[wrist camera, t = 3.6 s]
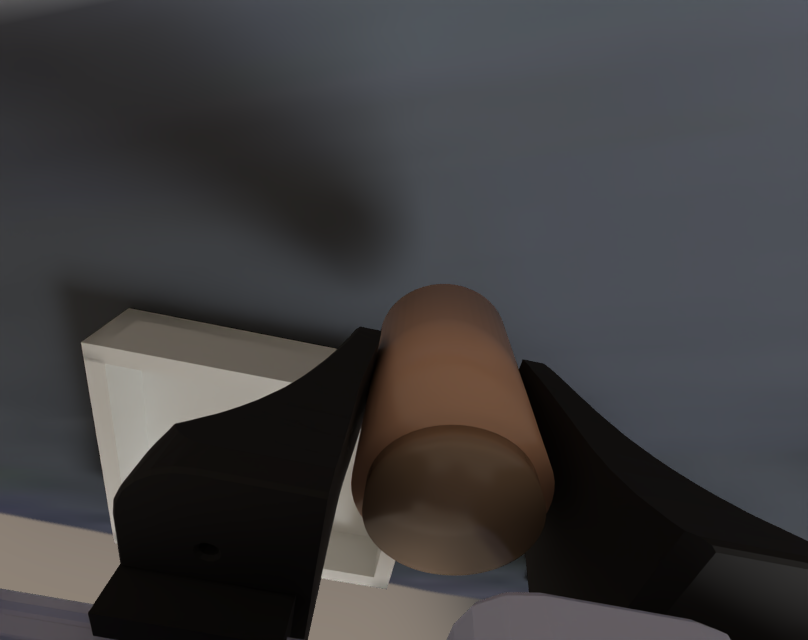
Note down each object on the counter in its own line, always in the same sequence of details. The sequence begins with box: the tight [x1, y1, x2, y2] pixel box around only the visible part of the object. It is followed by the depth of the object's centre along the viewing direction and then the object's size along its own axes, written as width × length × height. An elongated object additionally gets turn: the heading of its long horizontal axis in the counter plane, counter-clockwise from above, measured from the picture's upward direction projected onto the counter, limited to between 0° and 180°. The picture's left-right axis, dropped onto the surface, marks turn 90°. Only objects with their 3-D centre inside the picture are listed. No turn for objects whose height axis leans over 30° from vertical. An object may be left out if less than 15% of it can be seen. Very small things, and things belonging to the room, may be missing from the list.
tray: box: [81, 308, 395, 589], centre depth 21 cm, size 14×12×3 cm
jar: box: [351, 284, 555, 575], centre depth 11 cm, size 4×4×7 cm
